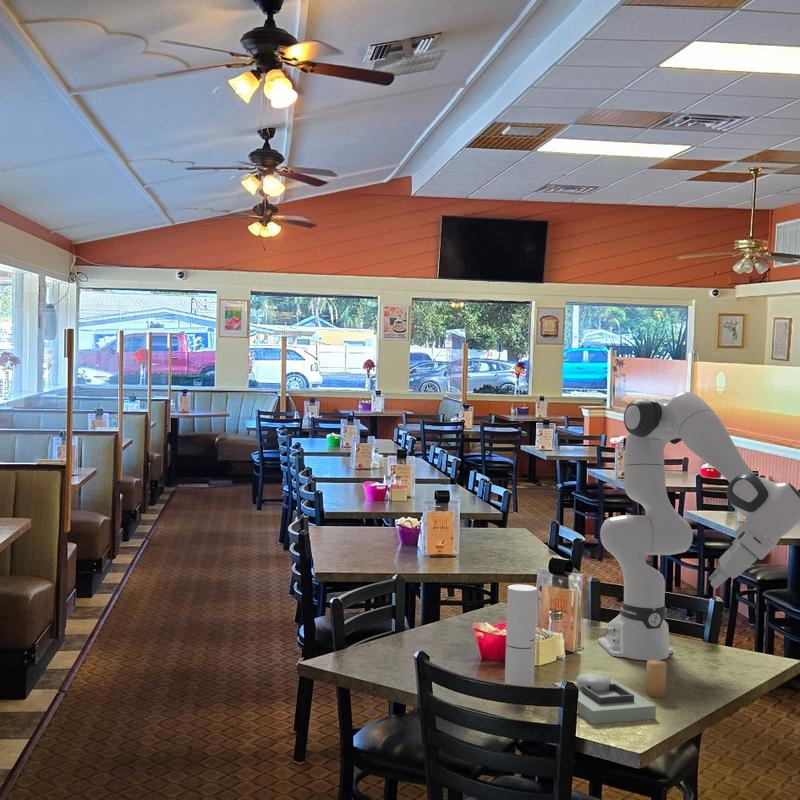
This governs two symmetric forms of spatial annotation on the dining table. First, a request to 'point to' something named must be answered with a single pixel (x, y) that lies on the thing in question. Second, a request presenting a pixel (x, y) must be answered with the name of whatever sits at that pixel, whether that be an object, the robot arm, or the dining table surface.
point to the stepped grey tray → (610, 701)
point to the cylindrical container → (520, 635)
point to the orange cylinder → (656, 679)
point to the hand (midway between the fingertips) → (711, 583)
